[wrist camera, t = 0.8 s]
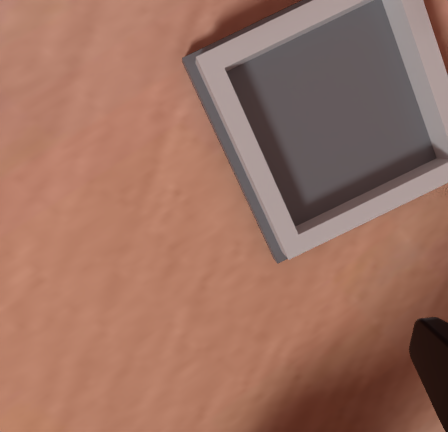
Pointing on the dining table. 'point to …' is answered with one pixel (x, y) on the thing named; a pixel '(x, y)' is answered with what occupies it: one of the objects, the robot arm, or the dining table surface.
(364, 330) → the dining table surface
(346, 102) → the dock
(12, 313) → the dining table surface
